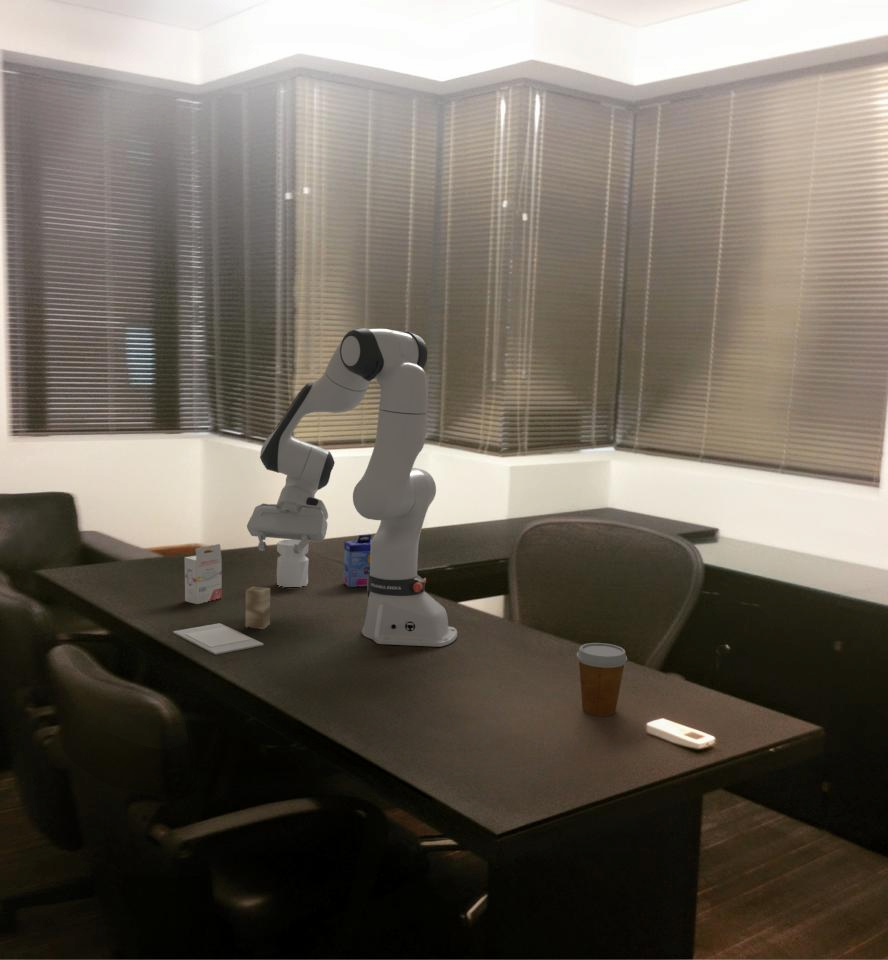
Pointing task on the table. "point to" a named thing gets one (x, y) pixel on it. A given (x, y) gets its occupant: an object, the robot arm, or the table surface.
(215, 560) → the ink cartridge box
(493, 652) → the table surface
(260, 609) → the wooden block
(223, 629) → the grey mat
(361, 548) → the ink cartridge box
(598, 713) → the disposable coffee cup
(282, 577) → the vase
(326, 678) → the table surface
